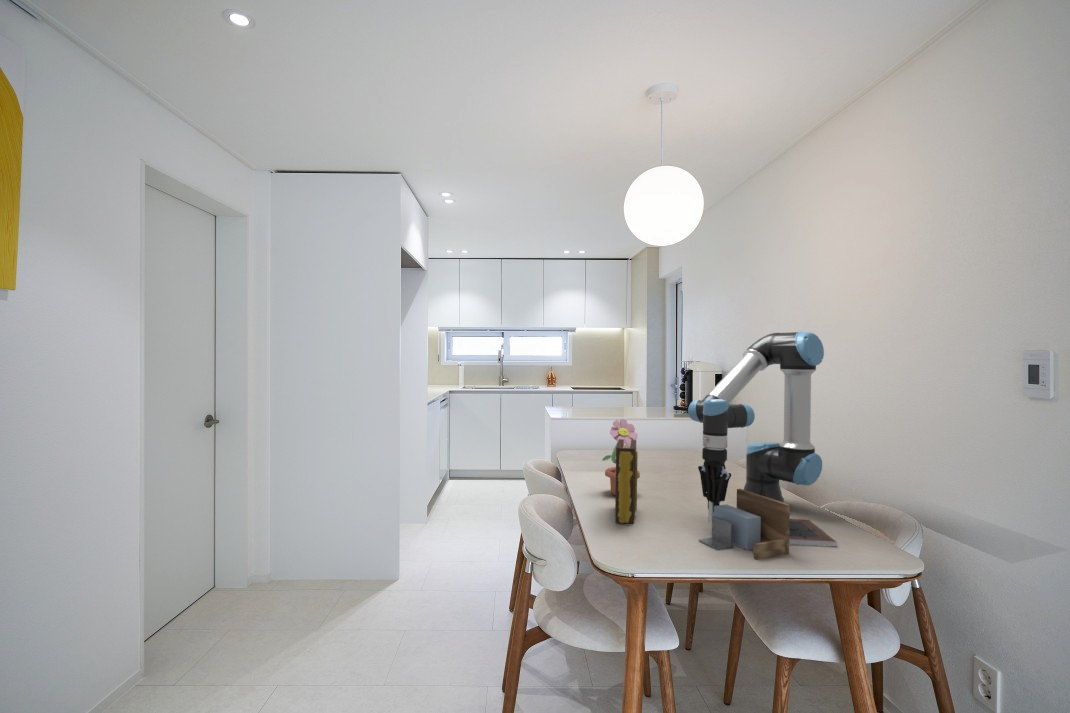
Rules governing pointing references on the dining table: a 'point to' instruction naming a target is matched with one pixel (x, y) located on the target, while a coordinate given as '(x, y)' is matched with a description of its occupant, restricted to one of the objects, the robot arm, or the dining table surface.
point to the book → (626, 482)
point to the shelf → (767, 523)
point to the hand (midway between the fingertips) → (713, 521)
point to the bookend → (720, 534)
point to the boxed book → (741, 525)
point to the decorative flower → (620, 432)
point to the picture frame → (808, 534)
